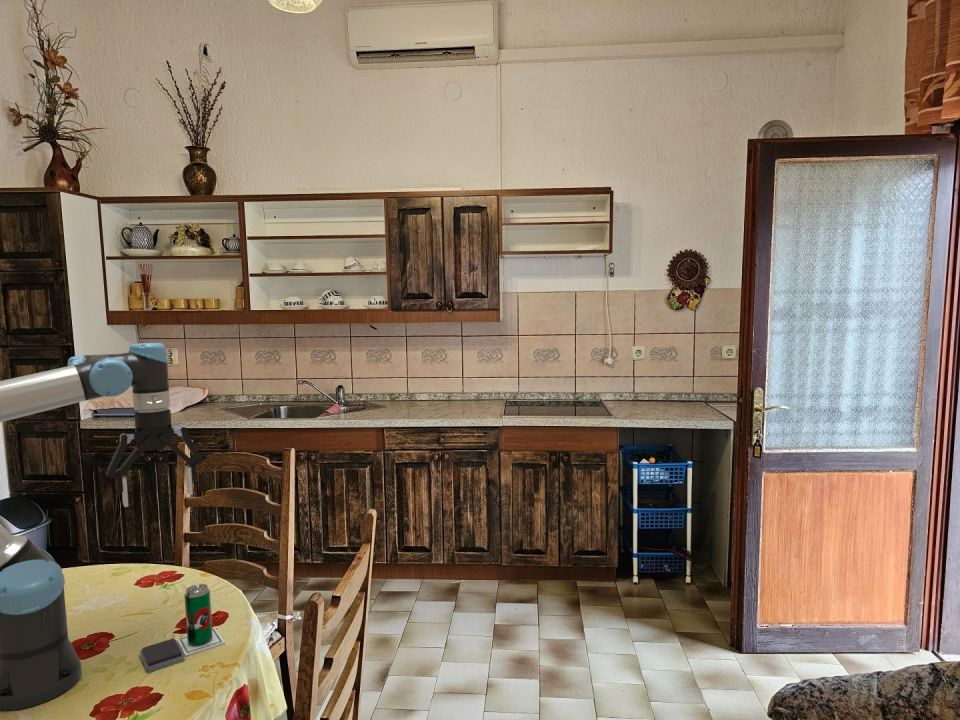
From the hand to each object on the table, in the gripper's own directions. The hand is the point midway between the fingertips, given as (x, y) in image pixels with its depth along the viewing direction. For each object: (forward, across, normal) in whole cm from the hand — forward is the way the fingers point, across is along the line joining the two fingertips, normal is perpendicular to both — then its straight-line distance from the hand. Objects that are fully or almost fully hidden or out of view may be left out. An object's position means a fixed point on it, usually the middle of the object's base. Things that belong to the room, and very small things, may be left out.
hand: (158, 499), depth 147 cm
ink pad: (+29, -4, -19) cm, 35 cm away
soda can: (+28, +3, -18) cm, 34 cm away
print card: (+29, +4, -18) cm, 34 cm away
